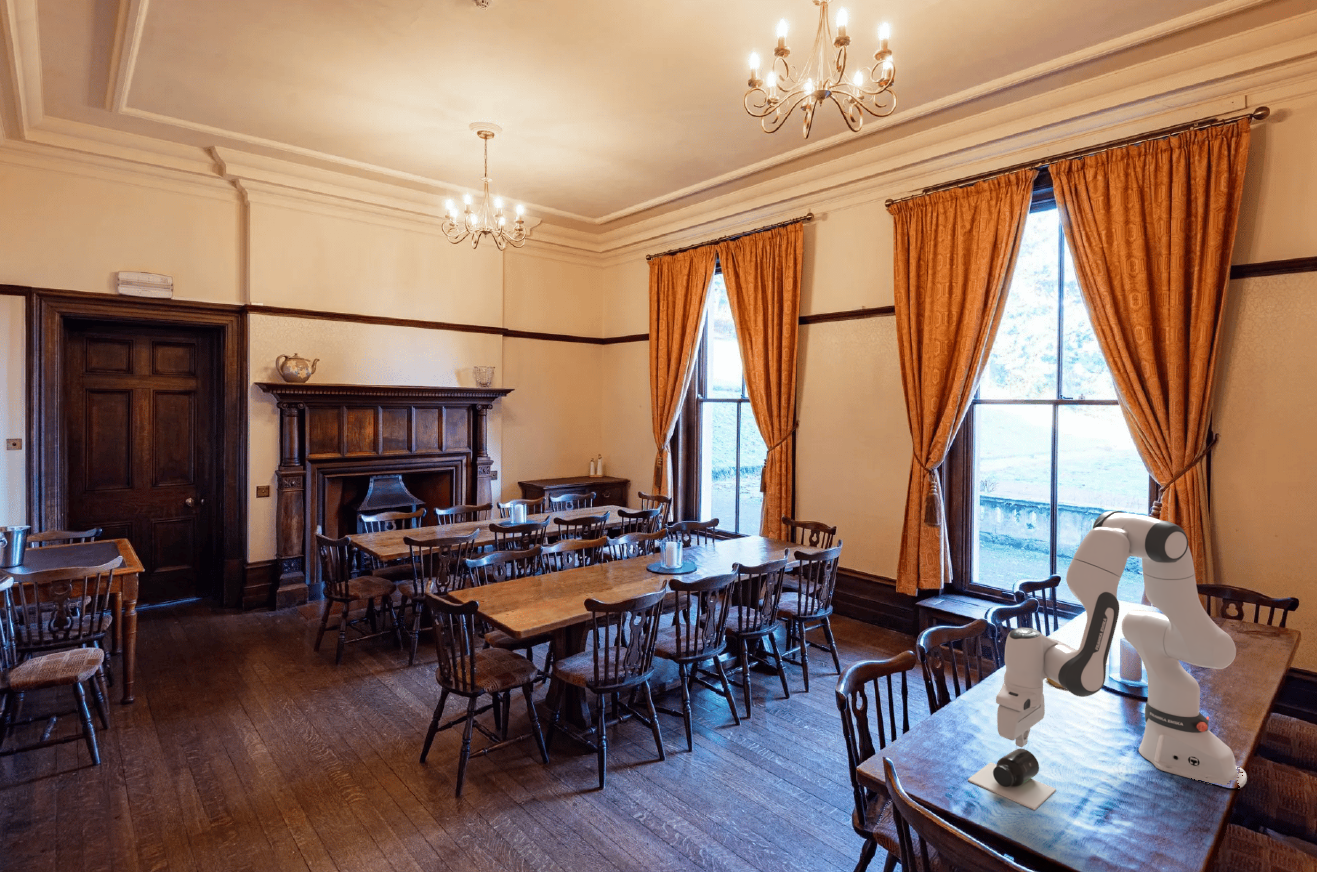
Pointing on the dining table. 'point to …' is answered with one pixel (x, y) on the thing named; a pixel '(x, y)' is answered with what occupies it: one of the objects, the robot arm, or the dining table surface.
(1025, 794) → the mat
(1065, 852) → the dining table surface
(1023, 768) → the supplement bottle
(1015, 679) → the robot arm
